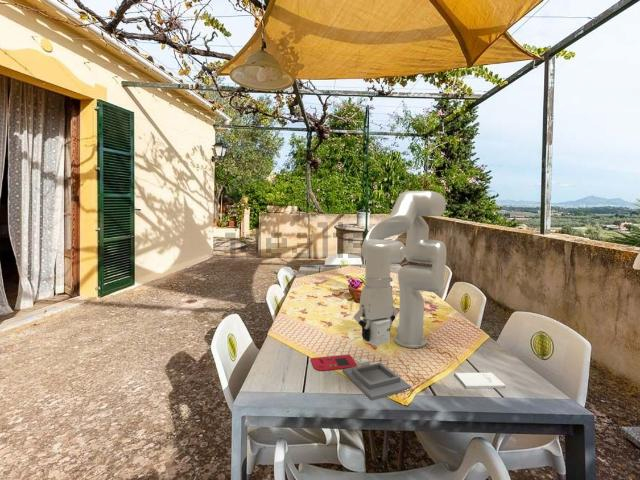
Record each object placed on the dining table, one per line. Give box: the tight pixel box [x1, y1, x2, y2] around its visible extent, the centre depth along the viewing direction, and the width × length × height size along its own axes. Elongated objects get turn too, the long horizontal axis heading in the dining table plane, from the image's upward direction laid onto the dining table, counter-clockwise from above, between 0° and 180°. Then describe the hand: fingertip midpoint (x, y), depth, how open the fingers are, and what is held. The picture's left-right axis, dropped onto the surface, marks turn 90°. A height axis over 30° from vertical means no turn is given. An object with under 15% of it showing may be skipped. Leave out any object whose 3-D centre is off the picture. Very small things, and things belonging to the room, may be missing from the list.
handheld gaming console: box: [310, 354, 357, 372], centre depth 121 cm, size 10×1×15 cm
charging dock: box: [342, 357, 412, 401], centre depth 109 cm, size 18×14×4 cm
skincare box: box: [362, 318, 391, 347], centre depth 107 cm, size 6×6×7 cm
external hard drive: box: [453, 372, 506, 390], centre depth 109 cm, size 2×8×12 cm
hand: (376, 337), depth 108 cm, fingers closed on skincare box, 6 cm apart
